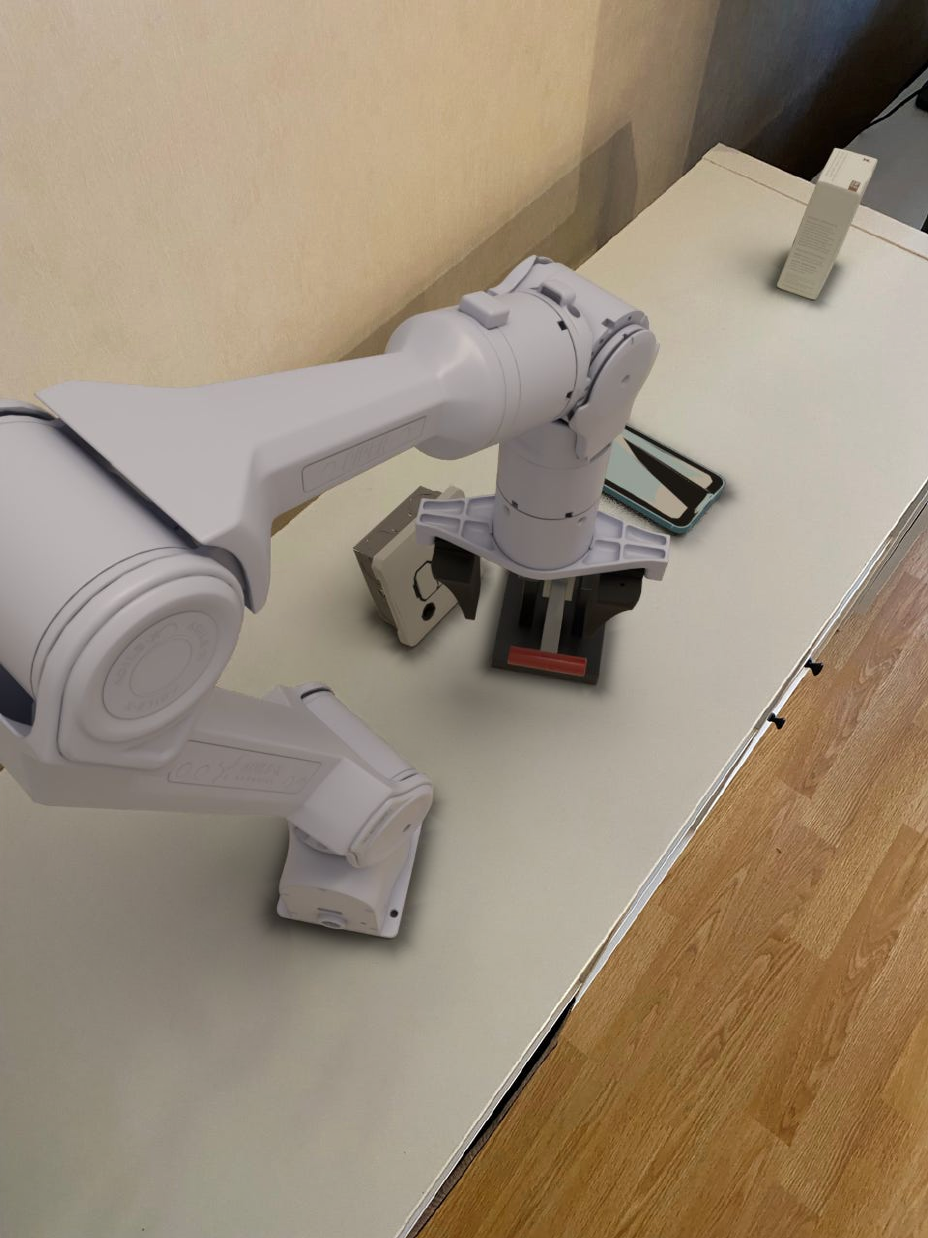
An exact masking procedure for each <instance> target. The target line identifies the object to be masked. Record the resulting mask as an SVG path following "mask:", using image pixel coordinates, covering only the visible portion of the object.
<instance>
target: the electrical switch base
mask: <svg viewBox="0 0 928 1238" xmlns="http://www.w3.org/2000/svg"><path fill="white" fill-rule="evenodd" d="M595 577H596V574H590V575H582V576H576V581H575V586H574V592H573V597H572V601H567V600H565V602H564V609H563V616H562V622H561V629H560V636H559V643H558V649H557V653H558V654H564V655H570V656H576V657H582V658H586V660H587V661H586V668H585V673H584V676H577V675H571V674H566V673H560V672H554V671H548V670H542V669H536V668H531V667H525V666H519V665H513V664H508V657H509V651H510V647H511V646H517V647H523V648H529V649H535V650H540V649H541V643H542V637H543V631H544V625H545V619H546V613H547V608H548V602H549V597H543V596H542V592H543V586H544V580H537V579H531V578H527V577H523V576H521V575H518V574H516V573H514V572H512V571H510V570H508V575H507V581H506V584H505V590H504V595H503V600H502V606H501V610H500V614H499V615H500V616H499V619H498V620H499V621H498V625H497V626H498V627H497V630H496V635H495V640H494V646H493V650H492V656H491V661H490V667H491V668H496V669H501V670H507V671H513V672H519V673H524V674H525V673H526V674H531V675H537V676H543V677H548V678H552V679H553V678H554V679H559V680H566V681H571V682H577V683H583V684H589V685H595V686H597V685H598V683H599V682H598V681H599V678H600V671H601V664H602V654H603V649H604V648H603V647H604V640H605V632H606V626H607V625H606V624H607V622H606V623H605V624H604V625H603V626H602V627H601V628H600V629H599V630H598V631H597V632H596V634H595V635H594V637H593V638H592V639H589V638H582V633H583V625H584V617H585V610H586V605H587V600H588V597H589V594H590V591H591V589H592V586H593V583H594V580H595Z"/></svg>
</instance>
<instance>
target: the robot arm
mask: <svg viewBox="0 0 928 1238" xmlns="http://www.w3.org/2000/svg"><path fill="white" fill-rule="evenodd" d="M387 341H388V342H387V344H386V346H385V349H384V352H383V354H377V355H372V356H371V355H370V356H366V357H359V358H354V359H347V360H341V361H336V362H331V363H325V364H319V365H313V366H306V367H300V368H295V369H294V368H293V369H289V370H282V371H276V372H271V373H265V374H259V375H253V376H248V377H242V378H236V379H229V380H224V381H218V382H217V381H216V382H213V383H206V384H201V385H194V386H186V387H185V386H184V387H169V386H157V385H146V384H145V385H144V384H132V383H121V382H107V381H98V380H97V381H96V380H85V379H70V380H66V381H63V382H59V383H56V384H54V385H52V386H49V387H46V388H44V389H41V390H38V391H35V392H34V393H33V395H34V397H35V398H36V399H38V401H40V402H41V403H42V404H43V405H44V406H46V407H47V408H48V409H49V410H50V411H51V412H50V411H49V410H47V409H45V408H43V407H42V406H40V405H37V404H34V403H33V402H30V401H25V400H20V399H16V398H4V397H3V398H1V397H0V765H1V766H2V767H3V768H4V769H5V770H6V771H7V773H8V774H9V775H10V776H11V777H12V779H14V781H15V782H16V783H17V784H18V785H19V786H20V787H21V789H22V790H23V791H24V792H25V794H26V795H27V796H28V797H29V798H30V800H32V802H33V803H34V804H39V805H43V806H47V807H61V808H82V809H83V808H86V809H104V810H105V809H106V810H127V811H147V812H148V811H149V812H150V811H151V812H166V813H167V812H169V813H170V812H171V813H192V814H209V815H210V814H211V815H212V814H213V815H232V816H233V815H236V816H253V817H254V816H255V817H256V816H257V817H276V818H277V817H279V818H284V819H286V821H287V824H288V826H287V827H288V830H289V831H288V832H289V842H288V851H287V856H286V859H285V863H284V866H283V870H282V874H281V877H280V880H279V885H278V892H279V899H278V902H277V905H276V912H277V914H278V915H279V916H280V917H282V918H284V919H290V920H293V921H294V920H295V921H298V922H299V921H300V922H305V923H309V924H314V925H318V926H319V925H321V926H324V927H327V928H330V929H334V930H345V931H350V932H356V933H361V934H365V935H371V936H376V937H380V938H386V939H393V938H395V937H396V936H398V934H399V931H400V926H401V921H402V918H403V913H404V909H405V905H406V899H407V895H408V889H409V887H410V881H411V877H412V872H413V867H414V863H415V858H416V854H417V850H418V845H419V839H420V836H421V830H422V826H423V822H424V820H425V818H426V817H427V816H428V813H429V811H430V810H431V807H432V805H433V802H434V790H435V783H434V781H433V780H432V779H433V778H431V777H430V776H429V775H427V774H426V773H422V772H420V771H419V770H418V769H416V767H414V766H413V765H412V763H410V762H409V761H408V760H407V759H405V758H404V757H403V756H402V755H401V754H400V753H399V752H398V751H397V750H396V749H394V748H393V746H391V745H390V744H389V743H388V742H387V741H386V740H384V739H383V738H382V737H381V736H380V735H379V734H378V733H377V732H376V731H375V730H373V729H372V727H370V726H369V725H368V724H367V723H366V722H365V721H363V720H362V718H360V717H359V716H358V715H357V714H355V712H353V710H352V709H350V708H349V707H348V706H347V705H346V704H345V703H344V702H342V700H340V699H339V698H338V697H337V696H336V694H335V692H334V691H333V690H332V688H331V687H330V686H329V685H328V684H327V683H324V682H322V681H311V682H307V683H304V684H300V685H297V686H295V687H288V686H284V685H280V684H277V685H276V686H274V687H273V688H271V690H270V691H269V692H268V693H266V694H265V696H263V697H262V698H258V697H255V696H251V695H248V694H245V693H241V692H236V691H233V690H231V689H226V688H223V687H219V686H217V684H218V682H219V680H220V677H221V676H222V674H223V672H225V669H226V668H227V666H228V664H229V662H230V661H231V659H232V657H233V654H234V652H235V649H236V648H237V644H238V641H239V637H240V633H241V630H242V627H243V623H244V618H245V608H246V609H248V610H249V611H250V612H251V613H252V614H254V615H257V614H259V612H260V611H261V610H263V608H264V607H265V605H266V603H267V599H268V594H269V591H270V584H271V583H270V582H271V562H272V561H271V560H272V559H271V558H272V556H271V555H272V553H271V552H272V549H271V547H272V546H271V545H272V527H273V522H274V521H275V520H276V519H277V518H278V517H279V516H281V515H283V514H285V513H287V512H289V511H291V510H292V509H295V508H297V507H299V506H300V505H302V504H305V503H306V502H309V501H310V500H312V499H315V498H316V497H318V496H320V495H322V494H324V493H326V492H328V491H330V490H332V489H334V488H336V487H338V486H339V485H342V484H344V483H346V482H347V481H349V480H352V479H353V478H355V477H357V476H360V475H362V474H363V473H365V472H368V471H369V470H371V469H373V468H375V467H377V466H379V465H381V464H383V463H385V462H387V461H388V460H391V459H393V458H395V457H396V456H399V455H400V454H402V453H403V454H404V453H405V452H407V451H408V450H410V449H413V448H415V449H416V450H418V451H419V452H420V453H423V454H424V455H426V456H428V457H431V458H433V459H437V460H440V461H456V460H460V459H463V458H466V457H468V456H471V455H474V454H476V453H478V452H481V451H483V450H485V449H488V448H491V447H494V446H495V445H498V454H497V466H496V467H497V468H496V476H495V477H496V478H495V489H494V493H490V494H482V495H474V496H465V498H458V499H447V500H435V499H425V498H422V499H421V502H420V506H419V510H418V514H417V518H416V522H415V534H416V544H421V545H428V546H431V545H433V544H434V554H433V558H432V562H431V570H432V574H433V577H434V579H435V580H437V581H439V582H441V583H442V584H443V585H445V586H446V587H447V588H448V589H449V590H450V591H451V592H452V593H453V595H454V596H455V598H456V599H457V601H458V602H457V603H458V605H459V607H460V609H461V612H462V614H463V617H464V619H465V620H469V621H476V616H477V613H478V612H477V611H478V606H479V601H480V597H481V589H482V588H481V587H482V577H481V571H480V557H481V559H485V560H487V561H489V562H492V563H493V564H496V565H497V566H499V567H501V568H504V569H506V570H508V571H509V570H510V571H512V572H514V573H516V574H518V575H521V576H523V577H527V578H531V579H537V580H553V579H560V578H568V577H575V576H582V575H590V574H596V577H595V580H594V583H593V586H592V589H591V591H590V594H589V597H588V600H587V605H586V610H585V617H584V625H583V633H582V638H589V639H592V638H593V637H594V635H595V634H596V632H597V631H598V630H599V629H600V628H601V627H602V626H603V625H604V624H605V623H606V624H607V622H608V621H609V620H611V619H612V618H614V617H615V616H617V615H619V614H622V613H624V612H628V611H633V610H634V609H635V607H636V606H637V605H638V603H639V601H640V598H641V595H642V590H643V589H642V588H643V579H644V578H645V579H647V580H651V581H659V582H662V581H663V580H664V576H665V573H666V570H667V567H668V564H669V561H670V560H669V559H670V548H671V547H670V546H671V535H670V534H666V533H661V532H656V531H652V530H650V529H646V528H644V527H641V526H638V525H636V524H634V523H631V522H629V521H627V520H624V519H623V518H620V517H619V516H617V515H614V514H612V513H609V512H607V511H605V510H602V509H600V502H601V499H602V493H603V491H602V490H603V485H604V481H605V476H606V472H607V467H608V462H609V458H610V453H611V448H612V444H613V440H614V439H615V438H616V437H617V436H619V435H620V434H621V433H622V432H623V430H624V428H625V425H626V423H627V424H628V422H629V421H630V420H631V415H632V411H633V408H634V407H633V406H634V403H635V401H636V398H637V396H638V395H639V393H640V391H641V390H642V388H643V386H644V385H645V383H646V382H647V379H648V377H649V375H650V374H651V371H652V369H653V367H654V365H655V362H656V360H657V358H658V355H659V351H660V348H661V343H657V337H656V335H655V333H654V332H653V331H652V330H650V322H649V317H648V315H646V314H645V312H643V311H642V310H640V309H639V308H637V307H635V306H634V305H632V304H631V303H629V302H627V301H625V300H624V299H622V298H621V297H618V296H617V295H615V294H614V293H612V292H610V291H609V290H607V289H605V288H604V287H602V286H600V285H598V284H597V283H595V282H593V281H592V280H590V279H588V278H587V277H585V276H583V275H582V274H580V273H578V272H577V271H575V270H573V269H572V268H570V267H569V266H566V264H563V263H561V262H554V260H552V259H551V258H549V257H546V256H538V255H536V254H531V255H530V256H528V257H527V258H525V259H523V260H522V261H521V262H520V263H519V264H518V265H516V266H515V267H514V268H513V269H512V270H511V271H510V272H509V273H508V274H507V276H506V277H505V278H504V279H503V280H502V281H501V282H500V283H499V284H498V285H497V286H493V287H491V288H488V289H487V291H483V290H479V291H475V292H471V293H467V294H466V293H465V294H464V295H462V296H461V299H460V303H459V304H455V305H451V306H447V307H442V308H438V309H434V310H428V311H425V312H421V313H417V314H415V315H412V316H410V317H408V318H407V319H405V320H404V321H403V322H401V323H400V324H399V325H398V326H397V328H396V329H394V331H393V332H392V333H391V335H390V337H389V339H388V340H387ZM393 912H396V913H397V915H396V916H394V917H393V916H391V914H392V913H393Z"/></svg>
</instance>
